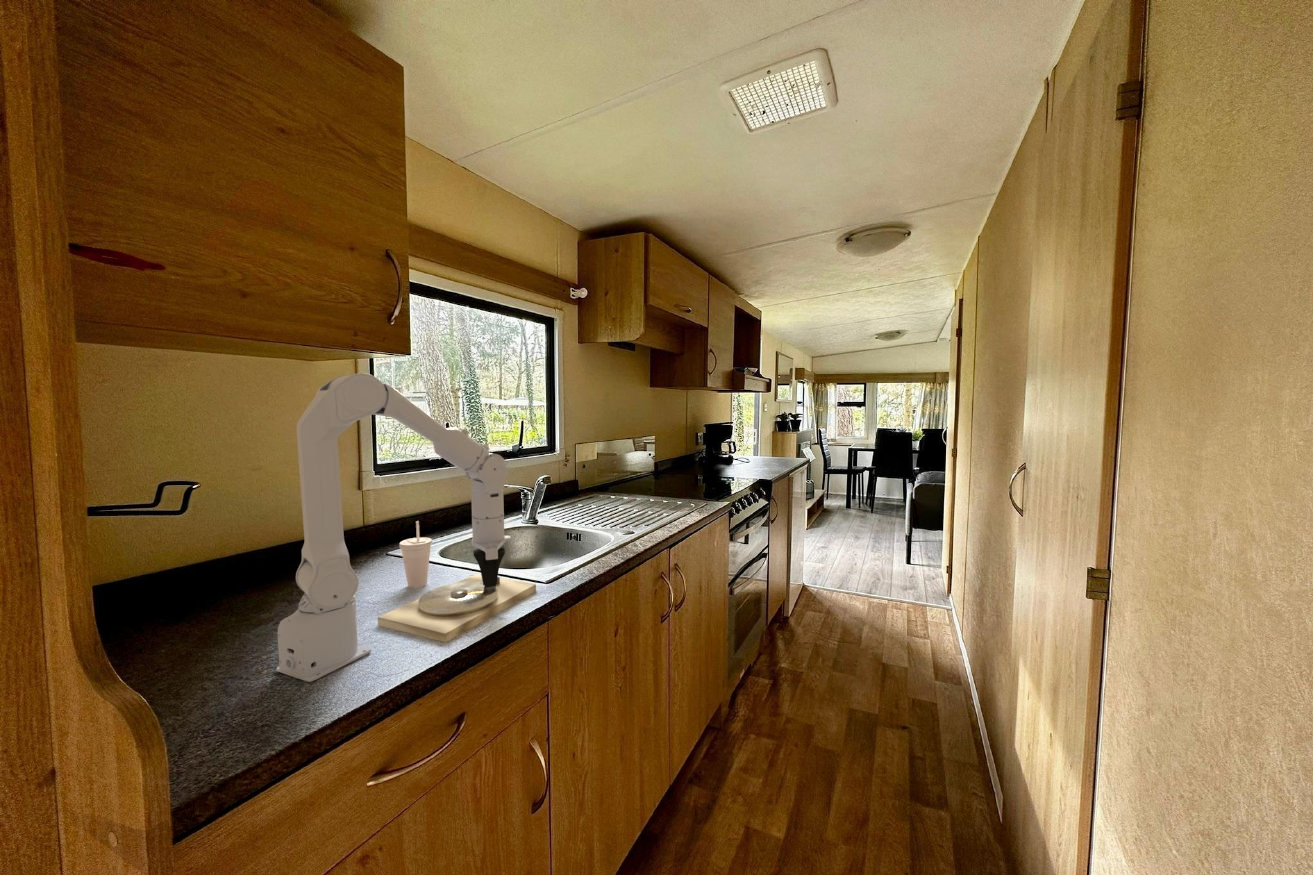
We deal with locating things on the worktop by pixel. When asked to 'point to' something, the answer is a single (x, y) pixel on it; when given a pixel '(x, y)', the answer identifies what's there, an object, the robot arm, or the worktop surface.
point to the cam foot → (457, 599)
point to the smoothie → (416, 559)
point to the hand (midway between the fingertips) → (490, 586)
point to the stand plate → (452, 626)
